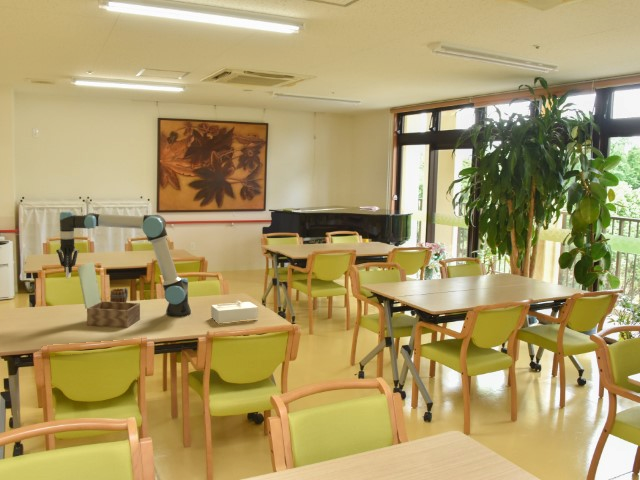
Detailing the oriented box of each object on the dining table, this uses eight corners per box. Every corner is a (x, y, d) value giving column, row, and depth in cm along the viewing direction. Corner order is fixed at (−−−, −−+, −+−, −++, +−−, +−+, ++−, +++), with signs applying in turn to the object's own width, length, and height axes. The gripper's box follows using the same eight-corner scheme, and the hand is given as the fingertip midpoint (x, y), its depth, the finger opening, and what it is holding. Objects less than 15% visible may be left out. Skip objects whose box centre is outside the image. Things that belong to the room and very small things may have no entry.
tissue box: (257, 320, 359) (258, 303, 358) (218, 324, 348) (218, 306, 346) (249, 315, 372) (249, 298, 371) (211, 318, 361) (211, 301, 359)
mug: (121, 316, 359) (121, 292, 357) (105, 315, 361) (105, 291, 359) (134, 310, 374) (134, 287, 372) (119, 309, 376) (119, 286, 374)
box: (140, 319, 353) (139, 303, 351) (127, 327, 335) (127, 310, 334) (101, 317, 355) (101, 301, 354) (87, 325, 337) (86, 308, 336)
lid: (93, 261, 351) (92, 262, 351) (78, 266, 333) (77, 267, 333) (101, 301, 353) (99, 301, 353) (86, 308, 336) (85, 308, 336)
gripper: (81, 237, 344) (82, 277, 347) (60, 236, 345) (61, 276, 348) (74, 239, 337) (75, 279, 340) (53, 238, 338) (54, 278, 341)
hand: (68, 277), depth 344 cm, fingers closed
